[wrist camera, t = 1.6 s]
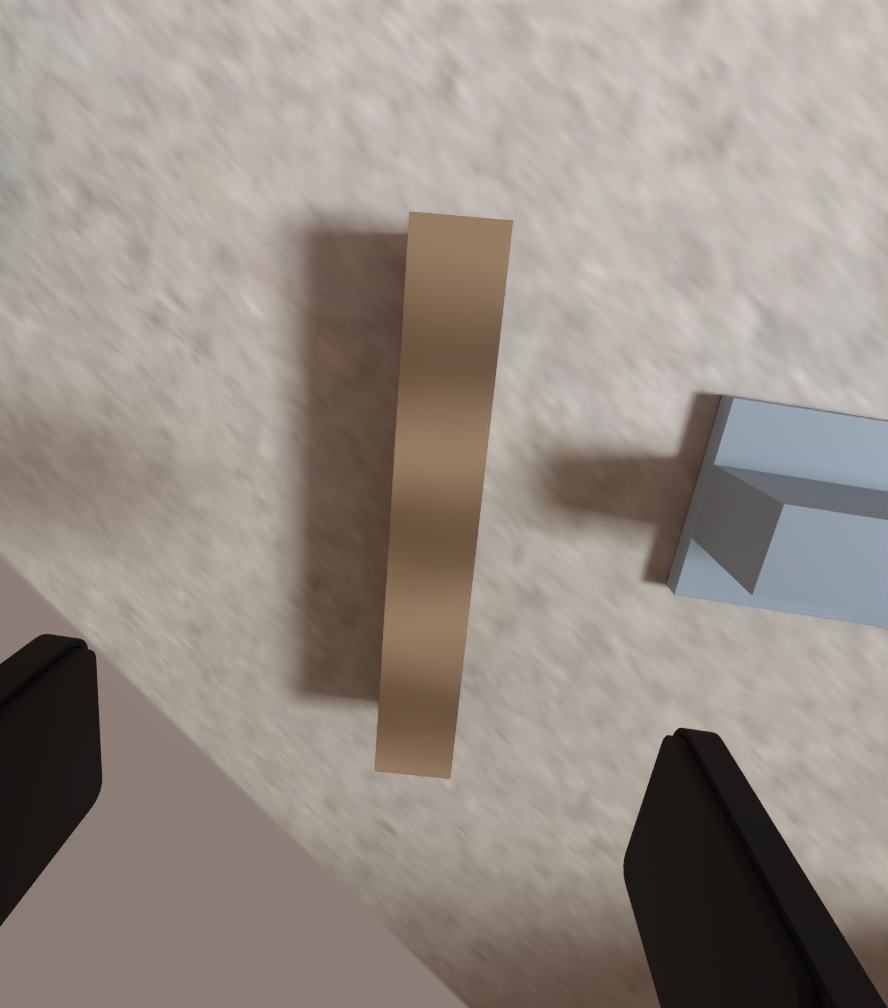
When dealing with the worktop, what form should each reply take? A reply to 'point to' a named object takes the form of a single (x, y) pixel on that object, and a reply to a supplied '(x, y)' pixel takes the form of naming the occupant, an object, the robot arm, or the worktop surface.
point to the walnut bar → (438, 480)
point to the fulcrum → (789, 514)
